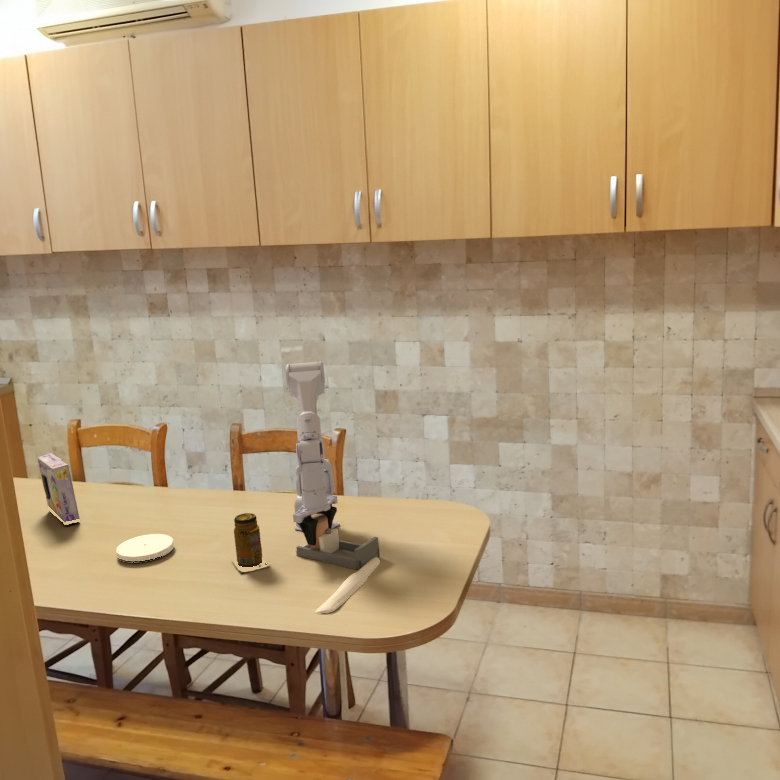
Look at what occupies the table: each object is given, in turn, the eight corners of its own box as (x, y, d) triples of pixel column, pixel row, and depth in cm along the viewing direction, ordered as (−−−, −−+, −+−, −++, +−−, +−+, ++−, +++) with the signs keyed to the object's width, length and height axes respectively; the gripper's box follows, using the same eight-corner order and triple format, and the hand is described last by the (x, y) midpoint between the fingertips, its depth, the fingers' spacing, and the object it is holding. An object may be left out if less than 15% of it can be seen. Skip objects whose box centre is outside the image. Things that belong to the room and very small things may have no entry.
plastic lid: (180, 556, 200) (179, 546, 199) (123, 571, 193) (121, 561, 193) (167, 538, 212) (165, 529, 211) (112, 552, 206) (111, 543, 205)
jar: (305, 551, 195) (302, 518, 193) (319, 544, 199) (316, 512, 197) (321, 556, 192) (317, 522, 190) (334, 548, 196) (331, 515, 194)
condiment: (260, 554, 197) (255, 509, 194) (270, 567, 189) (265, 519, 187) (231, 562, 194) (225, 515, 191) (240, 575, 186) (235, 527, 184)
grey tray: (296, 555, 195) (294, 536, 194) (317, 542, 201) (315, 524, 200) (359, 570, 184) (357, 550, 183) (379, 556, 191) (378, 537, 189)
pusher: (320, 556, 192) (318, 533, 191) (335, 547, 196) (333, 524, 195) (324, 557, 191) (322, 534, 190) (339, 548, 196) (337, 525, 194)
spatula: (372, 558, 190) (372, 549, 190) (388, 562, 189) (388, 553, 188) (312, 616, 166) (313, 606, 165) (330, 622, 164) (331, 612, 164)
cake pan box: (45, 511, 239) (36, 454, 235) (63, 506, 242) (53, 450, 238) (63, 528, 224) (52, 468, 220) (81, 523, 226) (71, 464, 223)
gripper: (307, 499, 184) (312, 554, 187) (345, 480, 196) (349, 532, 199) (284, 495, 188) (289, 549, 191) (322, 476, 200) (327, 527, 203)
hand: (318, 540), depth 195 cm, fingers closed on jar, 5 cm apart
